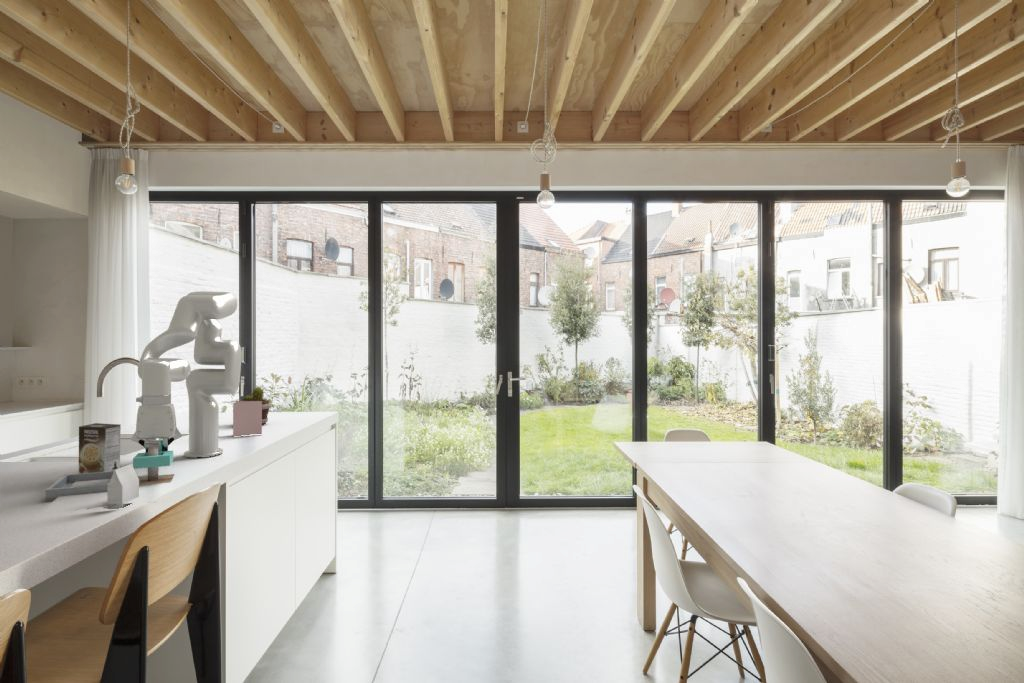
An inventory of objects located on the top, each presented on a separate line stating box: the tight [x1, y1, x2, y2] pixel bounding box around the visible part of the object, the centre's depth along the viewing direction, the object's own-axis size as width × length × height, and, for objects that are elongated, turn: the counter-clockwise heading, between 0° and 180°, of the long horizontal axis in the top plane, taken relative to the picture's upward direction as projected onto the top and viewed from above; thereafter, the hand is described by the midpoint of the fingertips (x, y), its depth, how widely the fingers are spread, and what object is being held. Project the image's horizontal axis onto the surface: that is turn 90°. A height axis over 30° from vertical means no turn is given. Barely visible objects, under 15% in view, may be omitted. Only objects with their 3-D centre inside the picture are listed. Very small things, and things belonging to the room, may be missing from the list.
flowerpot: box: [240, 384, 272, 426], centre depth 266 cm, size 14×15×20 cm
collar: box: [132, 439, 174, 470], centre depth 165 cm, size 13×9×6 cm
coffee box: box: [78, 422, 122, 474], centre depth 170 cm, size 9×6×16 cm
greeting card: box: [232, 400, 263, 437], centre depth 237 cm, size 11×7×15 cm, turn 92°
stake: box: [138, 441, 175, 486], centre depth 163 cm, size 10×10×12 cm
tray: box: [44, 471, 114, 502], centre depth 156 cm, size 17×14×3 cm
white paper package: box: [106, 463, 140, 510], centre depth 143 cm, size 4×7×10 cm, turn 3°
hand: (156, 459), depth 169 cm, fingers closed on collar, 3 cm apart
